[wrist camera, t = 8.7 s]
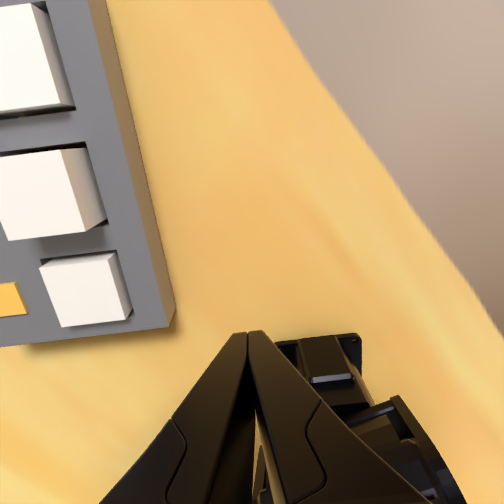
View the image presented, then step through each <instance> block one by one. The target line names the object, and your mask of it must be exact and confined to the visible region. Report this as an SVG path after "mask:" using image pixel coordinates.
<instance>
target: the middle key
mask: <svg viewBox="0 0 504 504" xmlns="http://www.w3.org/2000/svg"><path fill="white" fill-rule="evenodd" d="M105 219H107V215H106V211H105V208H104V204H103V201H102V197H101V194H100V190H99V187H98V183H97V180H96V176H95V173H94V169H93V166H92V162H91V159H90V155H89V152H88V148H75V149H62V150H53V151H45V152H37V153H29V154H22V155H14V156H6V157H0V221H1V224H2V226H3V229H4V231H5V234H6V236H7V238H8V241H12V240H21V239H29V238H37V237H45V236H53V235H61V234H69V233H77V232H85V231H87V230H89V229H90V228H92V227H94V226H95V225H97V224H99V223H100V222H102V221H103V220H105Z"/></svg>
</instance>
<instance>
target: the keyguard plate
mask: <svg viewBox="0 0 504 504" xmlns="http://www.w3.org/2000/svg"><path fill="white" fill-rule="evenodd" d="M27 3H31V4H32V5H34V6H36V7H37V8H39V9H40V10H42V11H44V12H45V13H47V14H48V15H50V19H51V22H52V26H53V29H54V33H55V36H56V40H57V43H58V47H59V50H60V54H61V57H62V61H63V64H64V68H65V71H66V75H67V78H68V82H69V85H70V89H71V92H72V96H73V99H74V103H75V106H76V110H77V111H69V112H61V113H53V114H45V115H38V116H30V117H22V118H19V117H14V116H3V115H0V157H6V156H14V155H22V154H29V153H31V151H30V150H33V149H41V148H49V147H57V146H65V145H73V144H81V143H86V145H87V148H88V152H89V155H90V159H91V162H92V166H93V169H94V173H95V176H96V180H97V183H98V187H99V190H100V194H101V197H102V201H103V204H104V208H105V211H106V215H107V219H105V220H103V221H102V222H100V223H99V224H97V225H95V226H94V227H92V228H90V229H89V230H87V231H85V232H77V233H69V234H61V235H53V236H45V237H37V238H29V239H21V240H12V241H8V238H7V236H6V234H5V231H4V229H3V226H2V224H1V221H0V347H6V346H14V345H23V344H31V343H39V342H48V341H56V340H64V339H73V338H81V337H90V336H98V335H106V334H115V333H123V332H131V331H140V330H148V329H156V328H165V327H169V324H170V321H171V319H172V316H173V313H174V311H175V308H176V304H175V300H174V295H173V291H172V287H171V282H170V278H169V274H168V269H167V265H166V261H165V256H164V252H163V248H162V243H161V239H160V235H159V230H158V226H157V222H156V217H155V213H154V209H153V204H152V200H151V196H150V192H149V187H148V183H147V179H146V174H145V170H144V166H143V161H142V157H141V153H140V148H139V144H138V140H137V135H136V131H135V127H134V122H133V118H132V114H131V109H130V105H129V101H128V96H127V92H126V88H125V83H124V79H123V75H122V71H121V66H120V62H119V58H118V53H117V49H116V45H115V40H114V36H113V32H112V27H111V23H110V19H109V14H108V10H107V6H106V1H105V0H0V7H4V6H12V5H19V4H27ZM108 250H117V253H118V257H119V260H120V264H121V267H122V271H123V274H124V278H125V281H126V284H127V288H128V291H129V295H130V298H131V302H132V305H133V308H132V310H131V312H130V313H129V315H128V316H127V318H126V320H118V321H110V322H101V323H93V324H85V325H76V326H68V327H61V324H60V322H59V319H58V317H57V314H56V312H55V309H54V306H53V304H52V301H51V299H50V296H49V293H48V291H47V288H46V286H45V283H44V280H43V278H42V275H41V273H40V270H39V268H40V267H41V266H43V265H45V264H46V263H48V262H49V261H51V260H52V259H54V258H55V257H59V256H68V255H76V254H84V253H92V252H100V251H108Z"/></svg>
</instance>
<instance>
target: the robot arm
mask: <svg viewBox="0 0 504 504" xmlns="http://www.w3.org/2000/svg"><path fill="white" fill-rule="evenodd" d="M353 339H356V340H355V341H353V342H352V340H353ZM278 348H281V350H279V349H278ZM255 410H256V414H255ZM256 416H257V422H258V427H259V432H260V437H261V442H262V445H261V446H260V448H259V455H258V461H257V468H256V475H255V482H254V489H253V496H252V487H253V465H254V444H255V419H256ZM99 504H467V503H466V501H465V499H464V497H463V495H462V493H461V491H460V489H459V487H458V485H457V483H456V481H455V479H454V478H453V476H452V474H451V472H450V470H449V469H448V467H447V465H446V464H445V462H444V460H443V458H442V457H441V455H440V453H439V452H438V450H437V449H436V447H435V445H434V444H433V442H432V441H431V439H430V438H429V437H428V435H427V434H426V432H425V431H424V430H423V428H422V427H421V425H420V424H419V423H418V421H417V420H416V418H415V417H414V416H413V414H412V413H411V411H410V410H409V409H408V407H407V406H406V404H405V403H404V402H403V400H402V399H401V397H400V396H399V395H396V396H393V397H391V398H390V400H388V401H385V402H383V403H380V404H377V405H375V403H374V401H373V399H372V397H371V395H370V393H369V391H368V389H367V387H366V385H365V383H364V381H363V379H362V340H361V338H360V336H359V335H358V334H357V333H348V334H339V335H328V336H320V337H311V338H303V339H297V340H289V341H280V342H275V343H273V342H272V341H271V339H270V338H269V337H268V336H267V335H266V334H265V333H264V332H263V331H262V330H257V331H250V332H248V334H247V332H240V333H233V334H232V335H231V337H230V338H229V339H228V341H227V342H226V343H225V345H224V346H223V347H222V349H221V350H220V352H219V353H218V354H217V356H216V357H215V358H214V360H213V361H212V362H211V364H210V365H209V366H208V368H207V369H206V370H205V372H204V373H203V375H202V376H201V377H200V379H199V380H198V381H197V383H196V384H195V385H194V387H193V388H192V389H191V391H190V392H189V394H188V395H187V396H186V398H185V399H184V400H183V402H182V403H181V404H180V406H179V407H178V408H177V410H176V411H175V412H174V414H173V415H172V417H171V419H169V420H168V422H167V423H166V424H165V426H164V427H163V429H162V430H161V431H160V433H159V434H158V435H157V436H156V438H155V439H154V440H153V442H152V443H151V444H150V445H149V447H148V448H147V449H146V450H145V452H144V453H143V454H142V455H141V456H140V457H139V459H138V460H137V461H136V462H135V463H134V464H133V466H132V467H131V468H130V469H129V470H128V471H127V473H126V474H125V475H124V476H123V477H122V478H121V479H120V480H119V482H118V483H117V484H116V485H115V486H114V487H113V488H112V489H111V491H110V492H109V493H108V494H107V495H106V496H105V497H104V498H103V499H102V501H101V502H100V503H99Z"/></svg>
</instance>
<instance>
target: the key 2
mask: <svg viewBox="0 0 504 504" xmlns="http://www.w3.org/2000/svg"><path fill="white" fill-rule="evenodd" d="M39 270H40V273H41V275H42V278H43V280H44V283H45V286H46V288H47V291H48V293H49V296H50V299H51V301H52V304H53V306H54V309H55V312H56V314H57V317H58V319H59V322H60V324H61V327H68V326H76V325H85V324H93V323H101V322H110V321H118V320H126V318H127V316H128V315H129V313H130V312H131V310H132V308H133V305H132V302H131V298H130V295H129V291H128V288H127V284H126V281H125V278H124V274H123V271H122V267H121V264H120V260H119V257H118V253H117V250H108V251H100V252H92V253H84V254H76V255H68V256H59V257H55V258H54V259H52V260H51V261H49V262H48V263H46V264H45V265H43V266H41V267H40V268H39Z"/></svg>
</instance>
